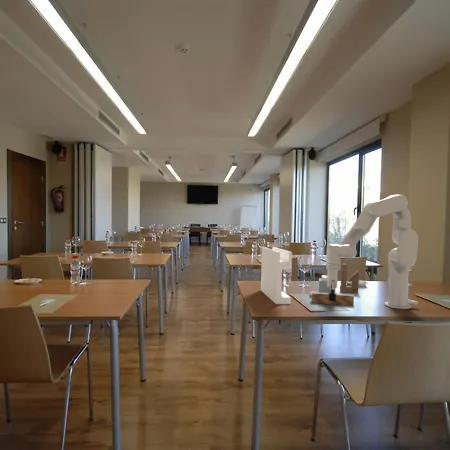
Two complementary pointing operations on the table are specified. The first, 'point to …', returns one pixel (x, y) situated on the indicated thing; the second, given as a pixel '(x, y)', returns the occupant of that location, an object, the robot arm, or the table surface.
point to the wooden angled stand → (352, 278)
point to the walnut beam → (340, 299)
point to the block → (274, 273)
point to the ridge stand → (322, 286)
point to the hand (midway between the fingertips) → (332, 299)
